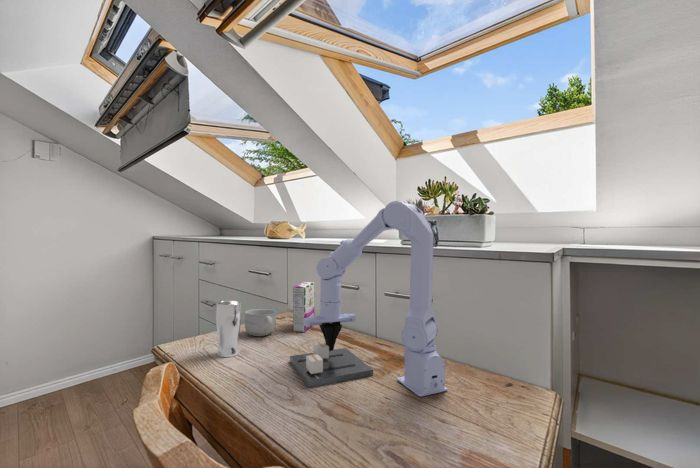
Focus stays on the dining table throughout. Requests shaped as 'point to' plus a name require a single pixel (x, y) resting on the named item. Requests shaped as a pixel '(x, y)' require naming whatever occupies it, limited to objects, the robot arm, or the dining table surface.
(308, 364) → the fader near
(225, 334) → the beer glass
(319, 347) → the fader far
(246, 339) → the dining table surface
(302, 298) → the candy bar box
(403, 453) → the dining table surface
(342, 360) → the fader console
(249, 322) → the teacup
